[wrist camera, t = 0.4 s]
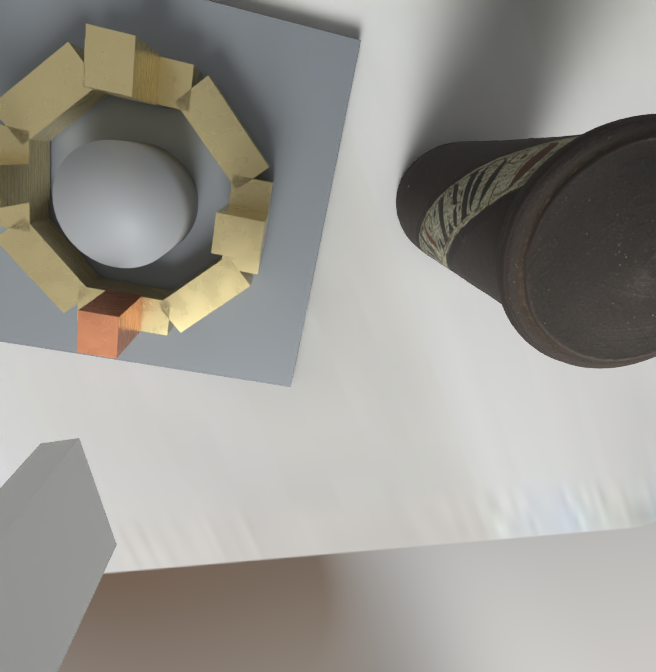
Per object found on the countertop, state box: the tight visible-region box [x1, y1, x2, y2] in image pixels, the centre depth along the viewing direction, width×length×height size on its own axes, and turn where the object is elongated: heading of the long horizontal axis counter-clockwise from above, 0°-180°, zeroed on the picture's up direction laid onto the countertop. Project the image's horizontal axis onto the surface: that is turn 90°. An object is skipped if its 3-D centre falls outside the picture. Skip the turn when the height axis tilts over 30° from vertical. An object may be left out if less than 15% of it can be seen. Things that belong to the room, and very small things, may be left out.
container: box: [396, 114, 656, 368], centre depth 24 cm, size 9×9×20 cm
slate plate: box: [0, 0, 361, 387], centre depth 29 cm, size 24×24×6 cm
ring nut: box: [0, 24, 274, 359], centre depth 28 cm, size 17×17×7 cm
